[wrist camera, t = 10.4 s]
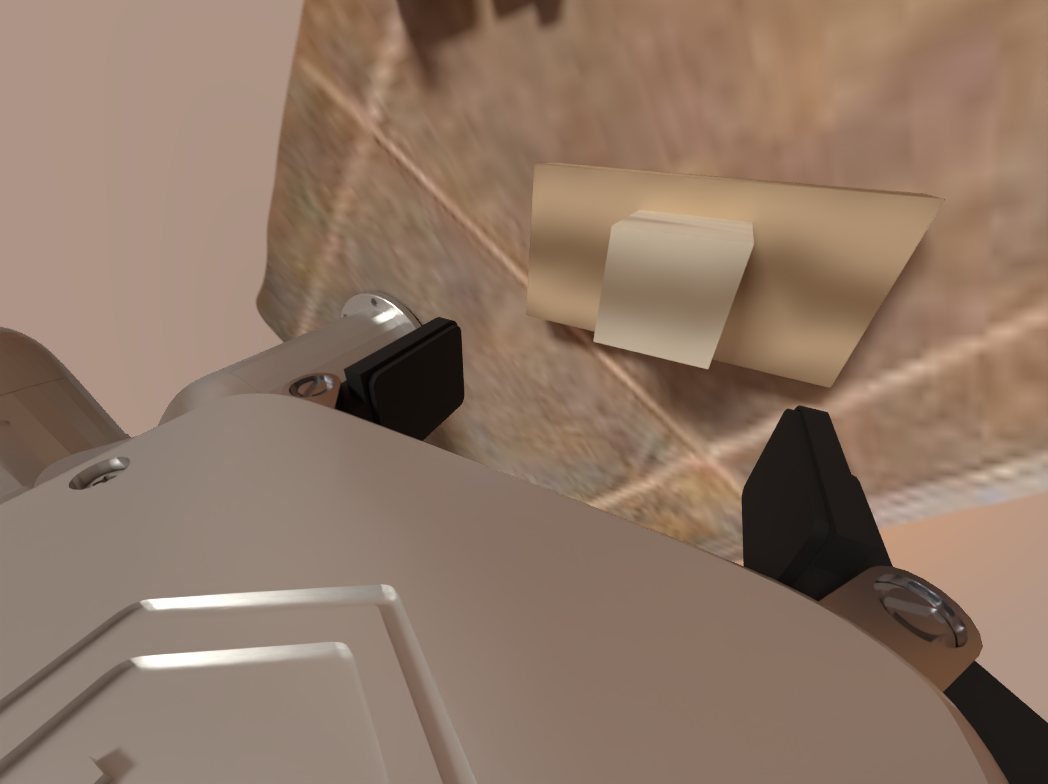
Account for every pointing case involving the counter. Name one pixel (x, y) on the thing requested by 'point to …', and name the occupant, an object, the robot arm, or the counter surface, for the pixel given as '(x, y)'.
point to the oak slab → (773, 266)
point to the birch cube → (671, 284)
